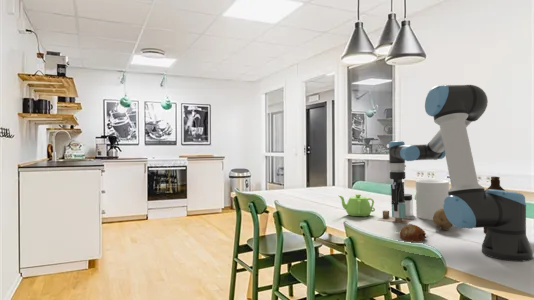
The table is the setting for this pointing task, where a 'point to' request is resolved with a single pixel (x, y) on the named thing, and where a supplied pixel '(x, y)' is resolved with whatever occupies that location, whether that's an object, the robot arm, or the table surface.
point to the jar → (408, 204)
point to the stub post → (385, 214)
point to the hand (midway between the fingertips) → (398, 216)
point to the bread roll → (412, 233)
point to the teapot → (358, 206)
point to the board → (392, 219)
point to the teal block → (400, 210)
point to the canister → (430, 197)
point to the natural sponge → (441, 220)
